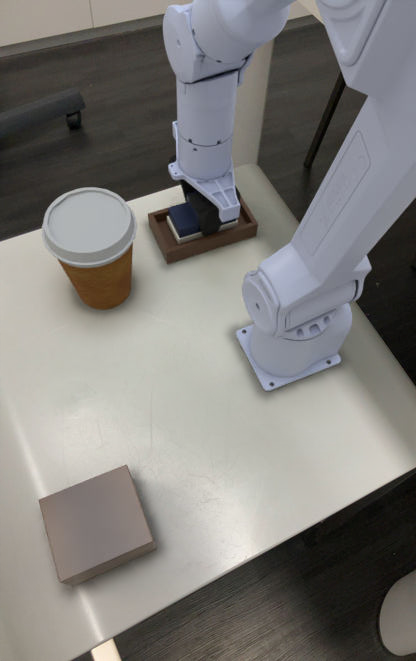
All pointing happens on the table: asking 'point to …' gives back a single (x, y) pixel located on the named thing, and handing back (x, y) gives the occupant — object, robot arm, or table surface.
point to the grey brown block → (96, 526)
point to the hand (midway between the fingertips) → (202, 218)
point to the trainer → (189, 222)
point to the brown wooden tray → (204, 244)
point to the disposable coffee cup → (93, 243)
